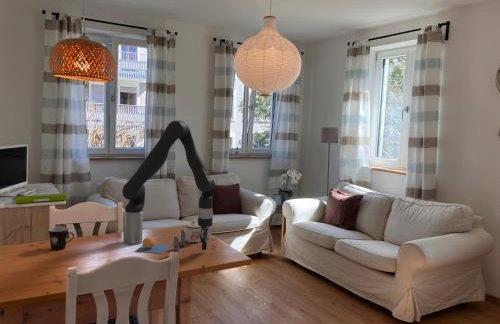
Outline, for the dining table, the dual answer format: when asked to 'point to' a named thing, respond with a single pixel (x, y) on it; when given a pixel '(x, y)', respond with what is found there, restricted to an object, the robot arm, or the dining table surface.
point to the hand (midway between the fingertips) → (204, 249)
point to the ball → (148, 242)
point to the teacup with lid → (193, 232)
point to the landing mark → (154, 249)
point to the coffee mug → (58, 238)
